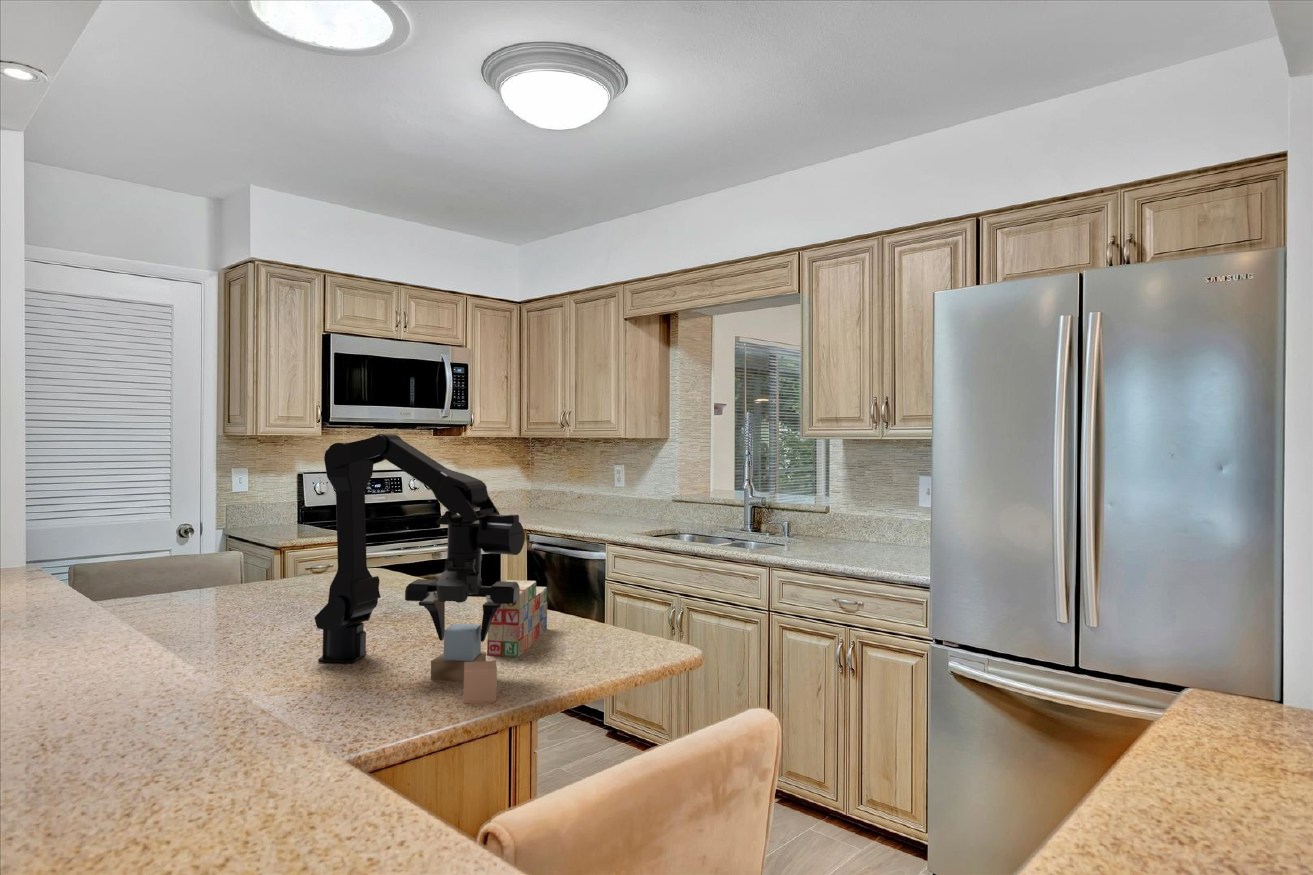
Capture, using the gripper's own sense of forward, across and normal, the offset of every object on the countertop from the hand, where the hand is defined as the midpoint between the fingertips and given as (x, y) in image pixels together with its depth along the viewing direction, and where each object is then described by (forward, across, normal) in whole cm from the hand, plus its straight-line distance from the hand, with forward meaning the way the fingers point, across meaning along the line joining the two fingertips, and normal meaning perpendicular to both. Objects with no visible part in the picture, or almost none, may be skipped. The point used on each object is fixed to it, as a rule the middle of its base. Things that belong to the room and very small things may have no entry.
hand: (462, 640), depth 131 cm
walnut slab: (+6, 0, 0) cm, 6 cm away
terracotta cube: (+6, +6, -11) cm, 14 cm away
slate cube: (+3, 0, 0) cm, 3 cm away
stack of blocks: (+6, +6, +22) cm, 23 cm away
